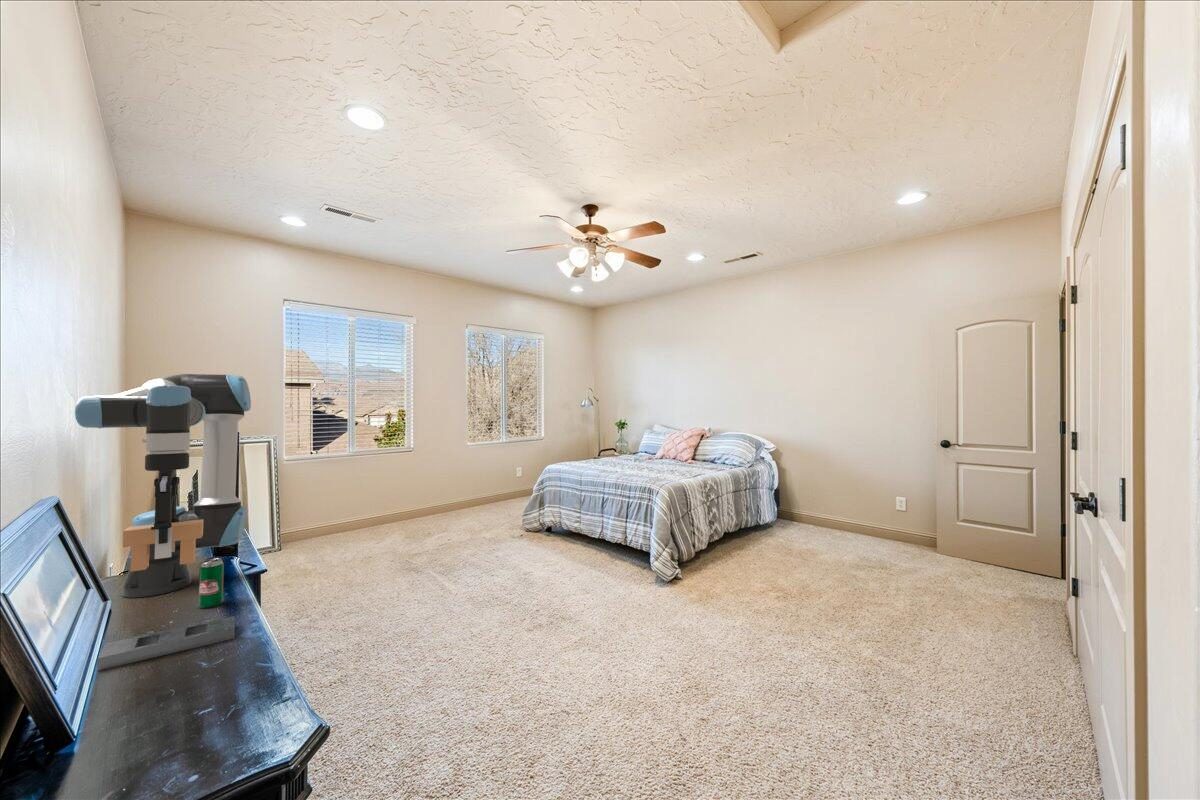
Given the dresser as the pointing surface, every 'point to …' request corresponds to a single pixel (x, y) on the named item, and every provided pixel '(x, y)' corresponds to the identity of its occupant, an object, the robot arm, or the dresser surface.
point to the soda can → (211, 583)
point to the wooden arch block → (145, 536)
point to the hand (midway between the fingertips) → (164, 554)
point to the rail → (165, 642)
